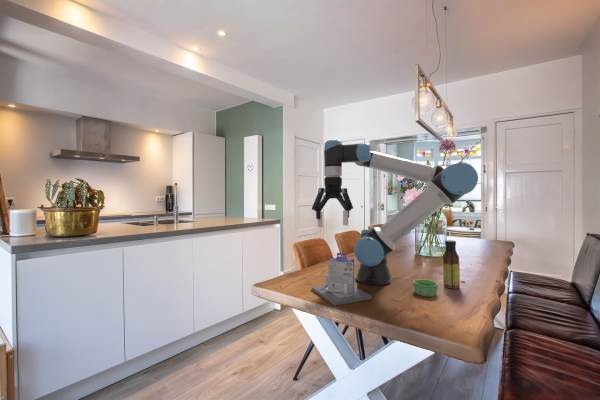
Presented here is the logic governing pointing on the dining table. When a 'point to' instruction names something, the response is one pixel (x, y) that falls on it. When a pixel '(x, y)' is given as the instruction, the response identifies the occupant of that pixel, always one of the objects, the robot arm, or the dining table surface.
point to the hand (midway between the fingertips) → (333, 226)
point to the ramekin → (425, 287)
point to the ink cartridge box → (340, 274)
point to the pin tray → (341, 294)
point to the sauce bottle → (451, 266)
